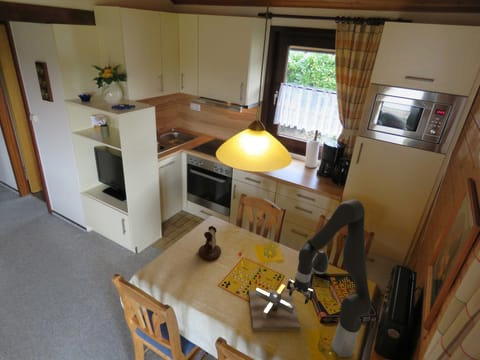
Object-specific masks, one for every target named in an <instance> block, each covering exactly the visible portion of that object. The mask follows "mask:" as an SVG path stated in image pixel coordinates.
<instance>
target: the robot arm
mask: <svg viewBox="0 0 480 360" xmlns="http://www.w3.org/2000/svg"><path fill="white" fill-rule="evenodd" d="M365 211H366V210H365V207H364V205H363V203H362V202H361V200H357V199H349V200H346V201H343V202H341V203H340V204H339V205H337V208H336V209H335V210H334V212H333V214H332V215H331V216H330V218H329V219H328V220H327V222H326V223H325V224H324V225H323V226H322V227H321V228H320V229H319V230H318V231H317V232H316V233H315V234H313V236H312V237H311V238H309V239H308V240H307V241H306V242H304V244H303V246H302V247H301V249H300V250H299V252H298V264H297V269H296V272H295V277H294V280H293V279H292V277H290V278H289V280H288V281H287V284H286V290H289V295H290V297H291V296H292V297H293V292H294V291H296V292H299V293H300V294H302V295H303V297H304V298H305V299H304V305H307V304H308V303H309V301H313V299H314V295H315V289H314V288H310V284H311V283H310V282H311V278H312V271H313V269H312V267H313V263H312V261H313V259H314V257H315V256H316V254H317V252H318V251H319V250H322V249H324V248H325V247H326V246H327V245H329V243H331V242H332V240H333V239H334V238H335V236H336V234H337V233H339V231H340V230H342V229H343V228H344V227H346V226H347V231H346V233H347V234H346V237H345V241H344V243H343V249H342V250H343V252H342V253H343V254H342V257H343V267H344V269H345V271H346V272H347V273H348V275H349V276H350V278H351V279H352V281H353V283H354V288H355V292H354V294H351V295H348V296H347V295H346V296H345V297H344V298H343V299H342V302H341V304H340V309H339V319H338V323H337V327H336V330H335V332H334V337H333V340H332V341H331V348H332V351H334V353H335V354H336V355H337V356H338V358H351V357H352V356H353V353H354V351H355V348H356V345H357V343H356V341H357V339H358V336H359V332H360V329H361V327H362V321H361V318H362V317H364V316H367V315H369V314H370V313H371V310H372V303H371V295H370V291H369V290H370V289H369V284H368V283H369V282H368V274H367V272H368V271H367V256H366V241H365V217H366V213H365ZM292 285H293V286H292Z"/></svg>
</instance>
